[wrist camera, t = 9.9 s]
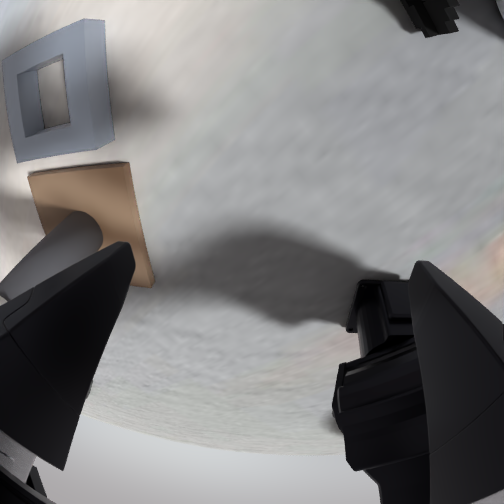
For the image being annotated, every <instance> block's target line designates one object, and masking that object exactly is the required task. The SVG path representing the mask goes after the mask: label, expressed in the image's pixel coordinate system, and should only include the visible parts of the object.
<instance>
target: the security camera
mask: <svg viewBox="0 0 504 504" xmlns="http://www.w3.org/2000/svg"><path fill="white" fill-rule="evenodd" d="M400 1H401V2H402V4H403V6H404V7H405V9H406V11H407V13H408V15H409V16H410V18H411V20H412V22H413V24H414V26H415V28H421V30H422V32H423V34H424V36H425V38H427V37H432V36H436V35H441V34H448V33H453V32H458V31H459V30H458V28H457V26H456V24H455V22H454V20H455V19H459V17H458V15H457V13H456V11H455V9H454V7H455V6H459V3H458V1H457V0H400Z"/></svg>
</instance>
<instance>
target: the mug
mask: <svg viewBox="0 0 504 504" xmlns="http://www.w3.org/2000/svg"><path fill="white" fill-rule="evenodd" d="M496 3H497V6H498V8H499V11H500V13H501V15H502V17H503V19H504V0H496Z"/></svg>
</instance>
